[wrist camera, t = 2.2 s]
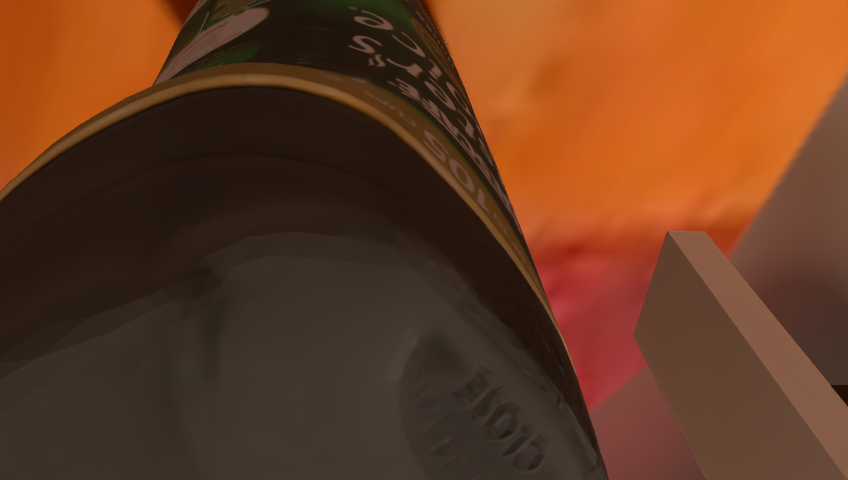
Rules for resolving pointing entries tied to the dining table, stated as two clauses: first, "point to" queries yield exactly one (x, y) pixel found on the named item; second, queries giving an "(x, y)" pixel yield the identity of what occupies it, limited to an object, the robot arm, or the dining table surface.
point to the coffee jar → (282, 272)
